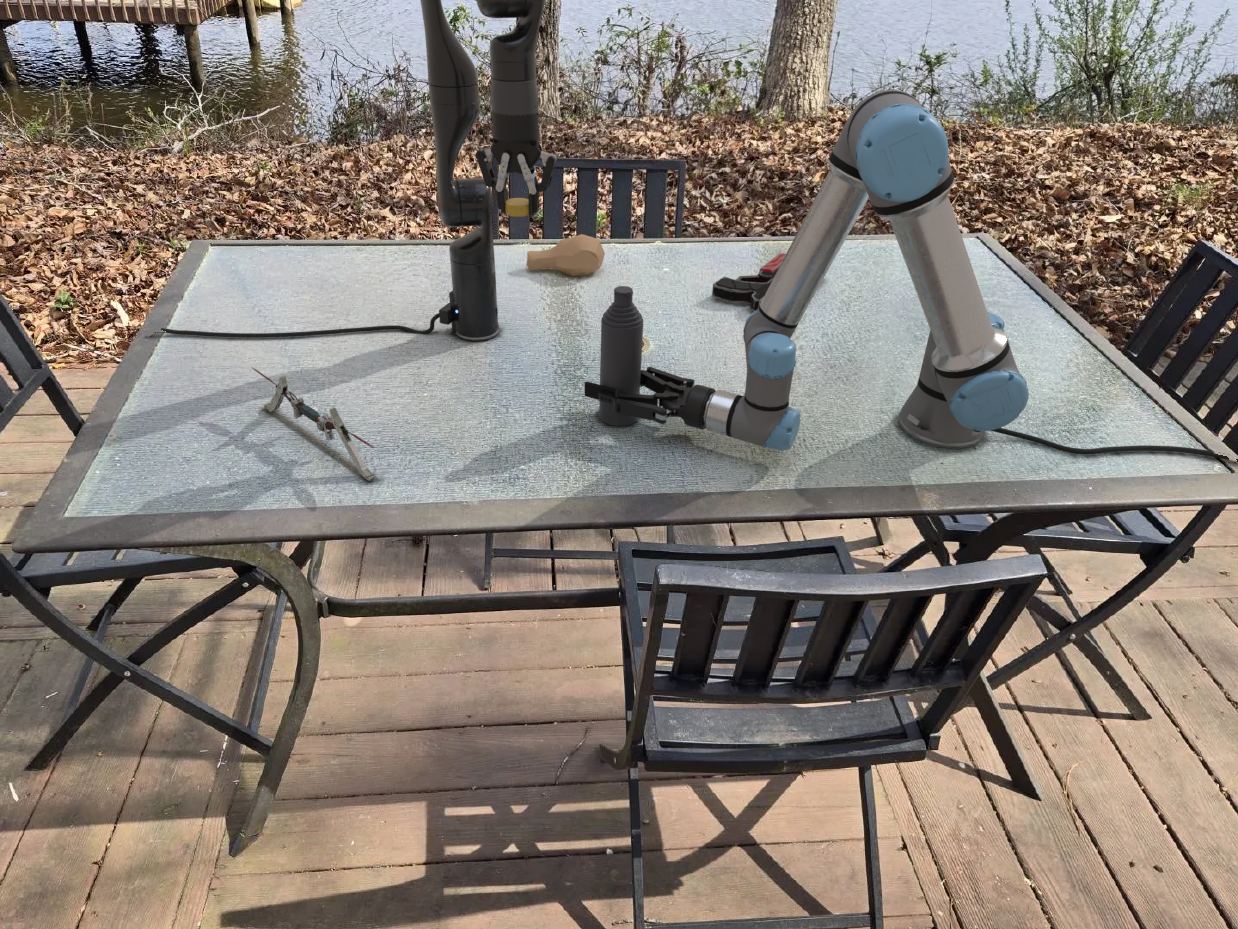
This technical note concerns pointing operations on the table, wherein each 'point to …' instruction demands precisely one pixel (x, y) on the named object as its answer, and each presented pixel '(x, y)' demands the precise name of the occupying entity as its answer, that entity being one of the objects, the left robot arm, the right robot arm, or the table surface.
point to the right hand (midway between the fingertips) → (596, 379)
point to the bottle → (620, 352)
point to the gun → (748, 285)
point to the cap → (517, 207)
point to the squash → (569, 256)
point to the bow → (319, 423)
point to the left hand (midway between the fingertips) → (518, 212)
